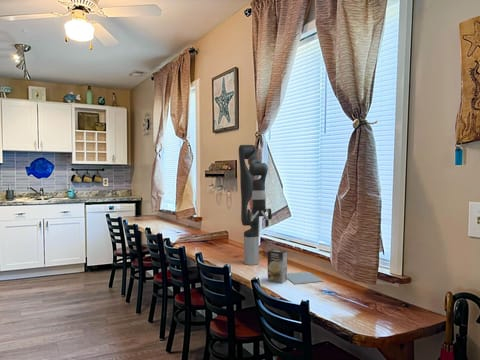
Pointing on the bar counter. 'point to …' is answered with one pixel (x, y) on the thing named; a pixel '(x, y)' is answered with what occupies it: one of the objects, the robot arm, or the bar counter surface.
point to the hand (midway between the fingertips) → (259, 227)
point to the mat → (302, 278)
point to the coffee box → (277, 265)
